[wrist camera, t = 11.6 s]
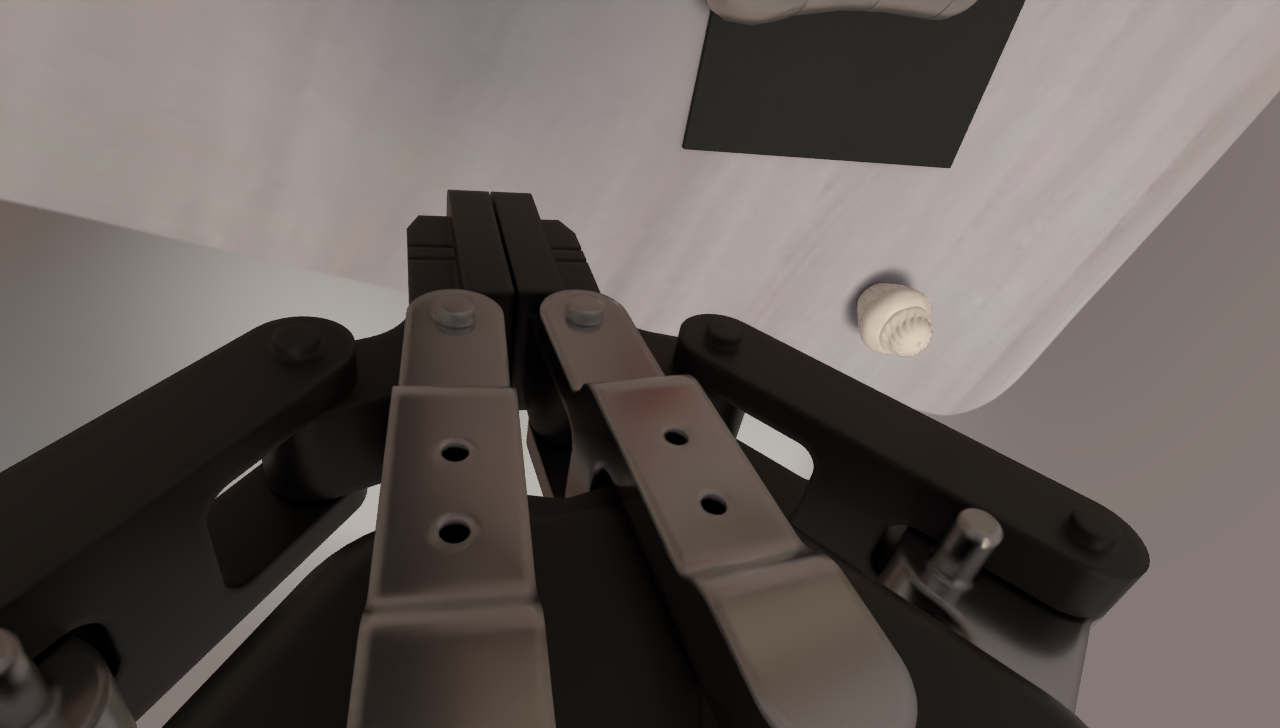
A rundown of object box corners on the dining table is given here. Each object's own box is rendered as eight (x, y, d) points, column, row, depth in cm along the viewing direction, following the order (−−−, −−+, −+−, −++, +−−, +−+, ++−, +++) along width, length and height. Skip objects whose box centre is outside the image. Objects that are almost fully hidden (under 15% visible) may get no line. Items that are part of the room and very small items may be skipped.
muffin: (845, 275, 58) (891, 323, 53) (912, 260, 59) (963, 306, 54) (837, 334, 62) (879, 384, 57) (899, 319, 63) (946, 367, 58)
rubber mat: (733, -100, 39) (736, -100, 38) (1038, -40, 46) (1042, -39, 45) (681, 146, 47) (683, 149, 46) (947, 166, 54) (950, 168, 53)
